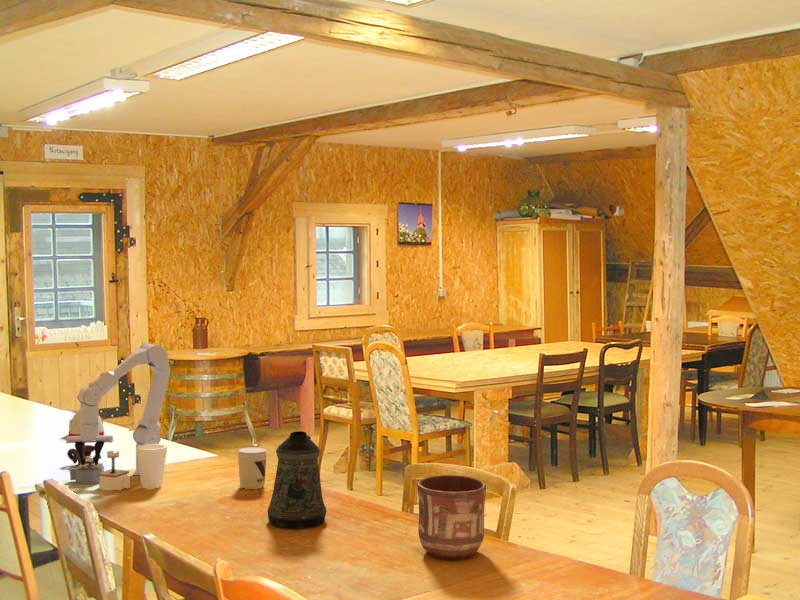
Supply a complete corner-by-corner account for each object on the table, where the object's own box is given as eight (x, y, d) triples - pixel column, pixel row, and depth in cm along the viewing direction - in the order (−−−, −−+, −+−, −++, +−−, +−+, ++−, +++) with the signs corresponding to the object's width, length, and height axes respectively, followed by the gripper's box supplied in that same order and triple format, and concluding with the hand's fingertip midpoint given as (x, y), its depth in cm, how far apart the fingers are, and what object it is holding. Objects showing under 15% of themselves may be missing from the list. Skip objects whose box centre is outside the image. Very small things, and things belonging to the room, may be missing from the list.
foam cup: (144, 492, 300) (143, 451, 299) (131, 486, 307) (131, 446, 306) (171, 487, 306) (171, 447, 305) (159, 482, 313) (159, 442, 312)
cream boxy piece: (93, 489, 302) (93, 473, 302) (111, 483, 310) (111, 468, 310) (120, 492, 298) (120, 476, 298) (137, 486, 306) (137, 471, 306)
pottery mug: (103, 463, 342) (105, 446, 338) (93, 480, 333) (96, 462, 329) (70, 455, 341) (72, 437, 337) (60, 472, 333) (62, 454, 329)
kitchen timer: (96, 430, 401) (95, 395, 400) (109, 435, 391) (109, 399, 390) (63, 434, 392) (63, 398, 391) (76, 439, 382) (76, 402, 381)
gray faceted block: (105, 477, 318) (105, 462, 318) (101, 483, 310) (100, 468, 309) (73, 478, 317) (73, 463, 316) (68, 484, 308) (67, 469, 308)
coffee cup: (261, 491, 302) (261, 453, 302) (233, 489, 304) (233, 452, 303) (270, 484, 311) (271, 447, 311) (243, 482, 313) (243, 446, 313)
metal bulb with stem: (96, 477, 315) (96, 455, 315) (94, 479, 312) (94, 458, 311) (85, 477, 315) (85, 456, 314) (83, 479, 311) (83, 458, 311)
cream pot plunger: (104, 474, 303) (104, 452, 303) (112, 472, 307) (112, 450, 306) (114, 475, 302) (113, 453, 302) (121, 473, 305) (121, 451, 305)
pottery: (401, 552, 242) (402, 482, 241) (447, 538, 254) (449, 471, 253) (452, 569, 229) (454, 496, 228) (499, 554, 241) (500, 483, 240)
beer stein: (271, 531, 258) (271, 440, 257) (262, 512, 277) (262, 427, 276) (331, 527, 263) (332, 437, 261) (318, 509, 281) (319, 425, 280)
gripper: (114, 420, 317) (114, 461, 318) (69, 421, 315) (69, 462, 316) (111, 424, 310) (111, 465, 311) (64, 425, 308) (65, 466, 309)
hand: (89, 464), depth 313 cm, fingers closed on metal bulb with stem, 4 cm apart
